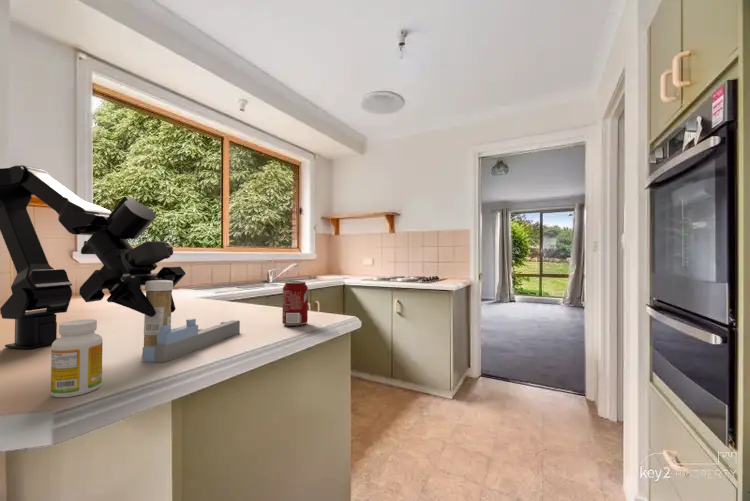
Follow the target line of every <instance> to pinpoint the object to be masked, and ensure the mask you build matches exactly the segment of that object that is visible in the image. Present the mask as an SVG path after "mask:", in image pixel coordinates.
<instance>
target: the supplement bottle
mask: <svg viewBox="0 0 750 501" xmlns="http://www.w3.org/2000/svg"><path fill="white" fill-rule="evenodd" d="M97 321H98V320H97V319H94V318H93V319H91V318H90V319H89V318H88V319H86V318H85V319H76V320H75V319H74V320H68V321H63V322H60V323H59V325H58V335H60V337H58V338H59V339H57V340H55V341H54V342H53V343H52V344H51V351H50V352H51V356H50V357H51V358H50V359H51V362H50V363H51V364H50V366H51V367H50V368H51V369H50V370H51V371H50V395H51V396H52V397H55V398H71V397H78V396H81V395H84V394H88V393H90V392H93V391H95V390H97V389H98V388H100V387H101V386H102V384H103V383H102V382H103V337H102V335H100V334H99V333H95V331H97V327H98V323H97Z"/></svg>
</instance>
